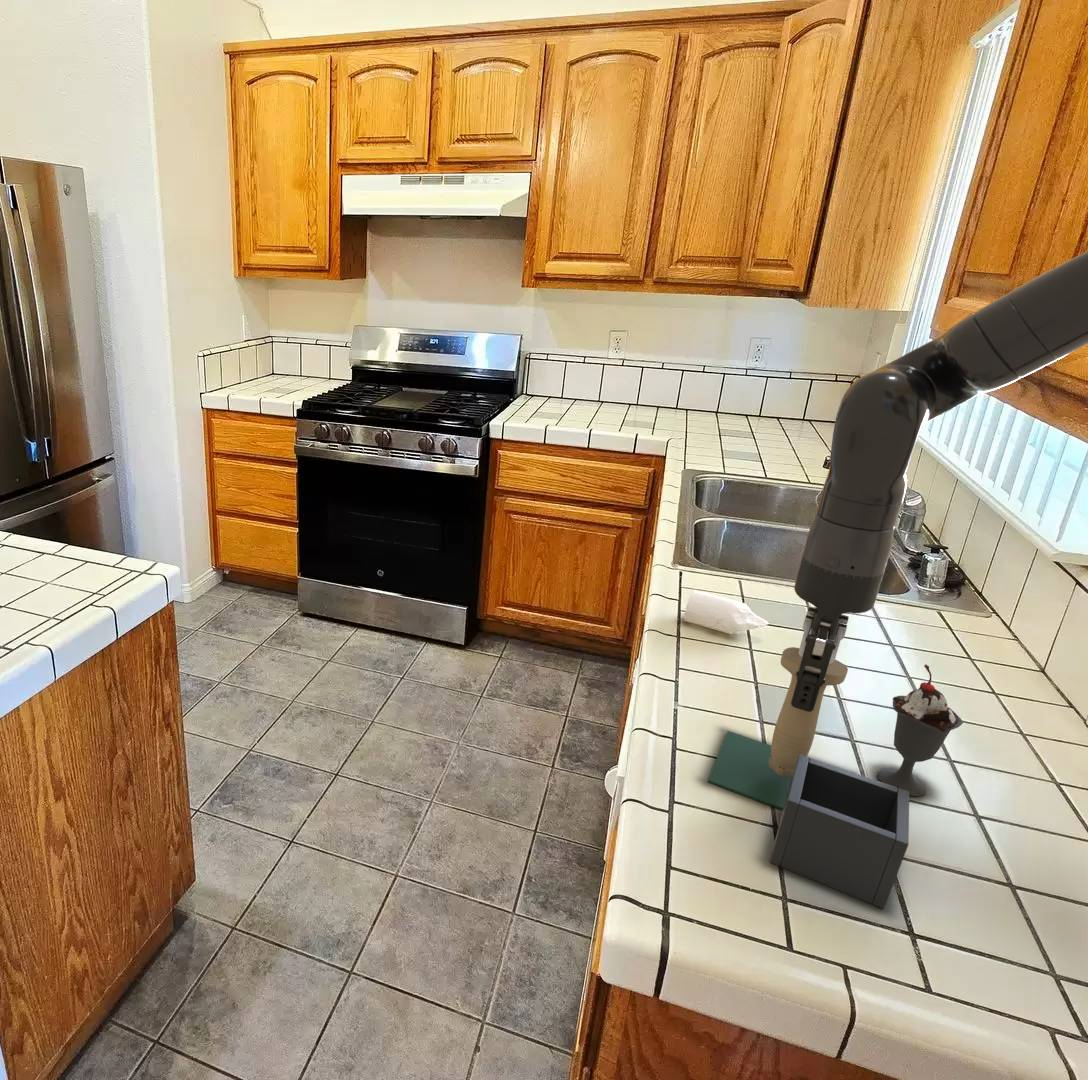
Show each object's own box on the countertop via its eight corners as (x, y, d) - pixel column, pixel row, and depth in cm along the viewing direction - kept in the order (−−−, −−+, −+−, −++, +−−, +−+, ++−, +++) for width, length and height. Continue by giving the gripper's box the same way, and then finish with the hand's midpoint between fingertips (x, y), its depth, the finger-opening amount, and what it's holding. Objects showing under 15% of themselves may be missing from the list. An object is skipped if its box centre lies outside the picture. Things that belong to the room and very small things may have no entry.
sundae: (881, 757, 94) (917, 652, 89) (943, 787, 89) (986, 678, 84) (858, 777, 91) (894, 669, 85) (922, 809, 86) (964, 697, 80)
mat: (851, 774, 91) (852, 772, 91) (843, 833, 82) (844, 831, 82) (727, 732, 98) (727, 730, 98) (707, 781, 89) (707, 779, 89)
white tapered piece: (758, 650, 119) (766, 618, 117) (681, 626, 126) (687, 595, 124) (767, 636, 123) (775, 605, 121) (692, 613, 130) (699, 584, 128)
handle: (806, 793, 86) (840, 680, 80) (747, 767, 90) (776, 657, 84) (819, 774, 89) (852, 664, 83) (761, 749, 93) (790, 643, 88)
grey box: (887, 852, 79) (909, 791, 76) (884, 909, 72) (908, 844, 69) (781, 812, 84) (799, 753, 81) (769, 862, 77) (787, 800, 75)
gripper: (883, 592, 72) (837, 739, 78) (887, 547, 83) (847, 680, 89) (795, 572, 76) (758, 714, 82) (810, 532, 87) (777, 660, 93)
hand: (804, 696), depth 86 cm, fingers closed on handle, 5 cm apart
